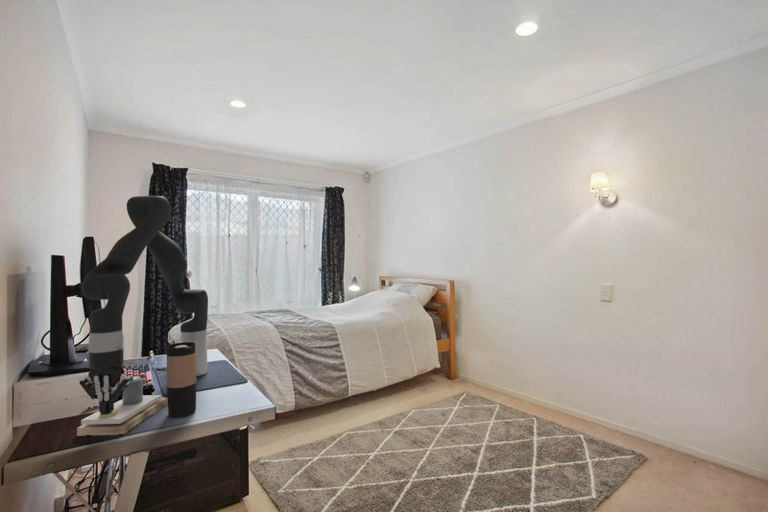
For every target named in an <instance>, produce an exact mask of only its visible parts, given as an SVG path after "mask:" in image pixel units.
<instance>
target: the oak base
mask: <svg viewBox="0 0 768 512" xmlns="http://www.w3.org/2000/svg"><path fill="white" fill-rule="evenodd" d="M166 406H168V398H167V397H162V399H161V400H159V401H157V402H156V403H154V404H152V405H151V406H149V407H147V408H146V409H144V410H142V411H141V412H139V413H137V414H136V415H134V416H132V417H131V418H129V419H127V420H126V421H124V422H122V423H121V424H91V425H80V426H78V427H76V429H77V430H76V434H77V435H76V436H77V437H83V436H86V435H91V436H114V435H117V436H118V435H119V434H124V435H126V434H127V433H129V432H130V431H132V430H133V429H134V428H135V426H136V425H137V424H138V425H140V424H141V423H142V422H141V421H143V420H144V419H145V420H147V419H148V418H149V416H150V415H151V416H152V414H153V415H154V414H156V413H157V412H158V411H159V410H161V409H163V408H164V407H166ZM151 416H150V417H151ZM147 417H148V418H147ZM146 418H147V419H146ZM145 420H144V421H145ZM144 421H143V422H144ZM140 422H141V423H140ZM139 423H140V424H139ZM138 425H137V426H138ZM137 426H136V427H137ZM133 427H134V428H133ZM132 428H133V429H132ZM129 430H130V431H129ZM128 431H129V432H128ZM125 433H126V434H125ZM119 436H120V435H119ZM86 437H87V436H86Z"/></svg>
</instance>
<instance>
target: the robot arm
mask: <svg viewBox="0 0 768 512" xmlns="http://www.w3.org/2000/svg"><path fill="white" fill-rule="evenodd" d="M126 211H127V215H128V217H129V219H130V221H131V223H132V225H133V226H134V227H135V228H133V229H132V230H130V231H129V232H128V233H126V234H124V235H123V236H122V237H120V238H119V239H118V240H117V241H116V242H115V243H114V245H113V246H112V248H111V249H110V251H109V253H108V254H107V256H105V257H106V258H104V259H103V260H102V261H101V262H99V263H98V264H97V265H96V266H94V267H93V268H92V269H91V270H90V271H89V272H88V273H87V274H86V276H85V277H84V278H83V280H82V282H81V289H80V290H81V293H82V295H83V296H84V297H85V298H86V299H89V300H91V301H93V300H94V301H98V300H99V301H101V300H103V301H104V300H107V302H106V305H105V306H104V307H101V308H97V309H94V310H92V311H91V312H90V315H89V337H88V368H89V372H88V374H87V376H86V377H85V378H84V379H82V380H80V381H79V385H80V387H81V388H83V390H84V391H85V393H86V394H87V396H88V395H89V396H90V397H91V399H93V400H95V399H98V401H99V405H98V411H99V412H100V413H101V415H107V414H109V413H111V412H112V411H113V410H114V403H115V401H114V400H115V399H116V398H118V397H119V396H121V395H123V394H122V393H123V392H124V390H125V389H126V388H127V387H128V385H129V384H130V383H131V381H132V380H133V377H134V376H128V375H127V374H126V373H125V370H124V368H123V366H124V363H125V362H124V361H125V360H124V357H125V356H124V352H125V351H124V346H125V344H124V343H125V342H124V333H123V315H124V310H125V307H126V305H127V304H126V303H127V300H128V298H129V294H130V291H131V283H130V282H131V281H130V280H129V278H128V277H127V276H126V275H129V273H132V271H133V270H134V268H135V266H136V264H137V262H138V260H139V259H140V258H141V255H142V254H143V252H144V250H145V249H146V248H148V250H149V251H150V254H151V256H152V257H153V260H154V262H155V264H156V266H157V268H158V270H159V272H160V273H161V275H162V278H163V280H164V281H165V283H166V286H167V288H168V291H169V293H170V296H171V298H172V302H173V304H174V307H175V308H176V311H178V312H179V313H181V314H193V318H192V319H190V320H188V321H185V322H183V323H181V324H180V327H179V328H180V343H183V342H192V343H195V353H196V377H200V376H203V375H205V374H207V373H208V331H207V329H208V328H207V327H208V318H209V317H208V313H209V296H208V292H207V291H206V290H205V289H201V288H200V289H187V288H185V285H184V284H183V279H184V278H185V275H186V272H187V269H188V261H187V259H186V256H185V254H184V252H183V249H182V247H180V246H179V245H178V244H177V243H176V242H175V241H174V240H172V239H170V238H169V237H168V236H167V235H166V234H164V233H163V232H162V231H161V230H162V228H163V227H164V226H165V225H166V224H167V223H168V221H169V219H170V218H171V213H172V209H171V204H170V201H169V200H168V199H167V198H166V197H165V196H162V195H139V196H138V195H137V196H136V195H135V196H132V197H130V198H129V199H127V202H126ZM118 383H119V384H118Z"/></svg>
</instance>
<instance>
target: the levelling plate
mask: <svg viewBox="0 0 768 512" xmlns="http://www.w3.org/2000/svg"><path fill="white" fill-rule="evenodd" d="M132 377H133V380H132V381H131V383H130V384H129V385H128V387H127V388H126V389H125V390H124V392H123V394H122V399H120V400H118V401H116V402H114V410H113V411H112V412H111V413H109V414H107V415H101V413H100V412H99V410H97V411H96V412H94V413H93V414H91V415H88V416H87V417H85V418H82V419H81V420H80V426H82V425H91V424H121V423H122V422H124V421H126V420H127V419H129V418H131V417H132V416H134V415H136V414H137V413H139V412H141V411H142V410H144V409H146V408H147V407H149V406H151V405H152V404H154V403H156V402H157V401H159V400H161V399H162V398H163V397H162V394H149V395H147V394H146V395H144V391H143V386H144V380H143V379H142V377H141V376H132Z"/></svg>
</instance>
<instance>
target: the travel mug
mask: <svg viewBox="0 0 768 512" xmlns="http://www.w3.org/2000/svg"><path fill="white" fill-rule="evenodd" d="M166 393H167V394H166V395H167V397H166V398H167V408H168V409H167V415H168V417H169V418H171V419H179V418H186V417H188V416H191V415H193V414H195V413H196V409H197V376H196V353H195V343H192V342H183V343H181V342H177V343H172V344H168V345H167V346H166ZM185 416H186V417H185Z"/></svg>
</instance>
